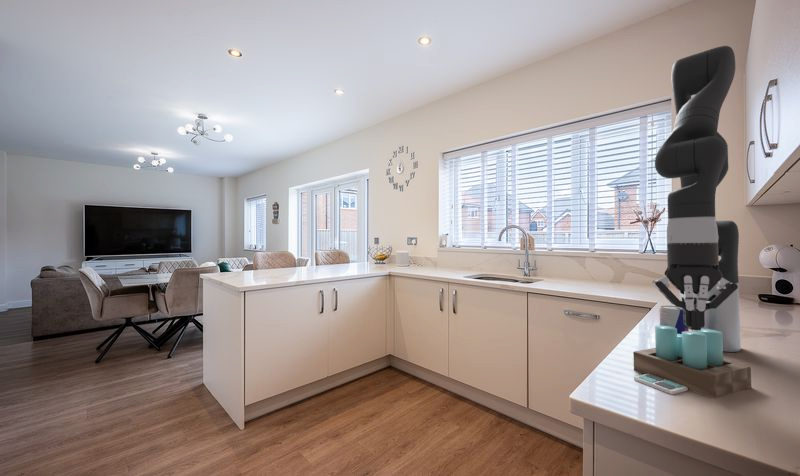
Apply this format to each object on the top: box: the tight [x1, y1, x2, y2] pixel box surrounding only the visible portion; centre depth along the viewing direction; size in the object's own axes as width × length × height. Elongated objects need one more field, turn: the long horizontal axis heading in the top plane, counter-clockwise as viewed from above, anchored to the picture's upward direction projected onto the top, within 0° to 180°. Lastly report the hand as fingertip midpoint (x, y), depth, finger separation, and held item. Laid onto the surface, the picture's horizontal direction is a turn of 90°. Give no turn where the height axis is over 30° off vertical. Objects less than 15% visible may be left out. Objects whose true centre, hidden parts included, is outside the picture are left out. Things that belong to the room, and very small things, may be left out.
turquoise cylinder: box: [698, 329, 724, 367], centre depth 66 cm, size 4×4×8 cm
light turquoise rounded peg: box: [682, 331, 707, 371], centre depth 64 cm, size 4×4×8 cm
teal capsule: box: [677, 334, 682, 356], centre depth 70 cm, size 4×4×8 cm
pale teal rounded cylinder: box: [654, 325, 678, 361], centre depth 69 cm, size 4×4×8 cm
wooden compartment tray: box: [632, 347, 752, 399], centre depth 67 cm, size 12×14×4 cm
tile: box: [633, 373, 689, 395], centre depth 64 cm, size 4×7×1 cm, turn 19°
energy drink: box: [659, 305, 690, 334], centre depth 79 cm, size 5×5×12 cm
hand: (693, 329), depth 64 cm, fingers closed
